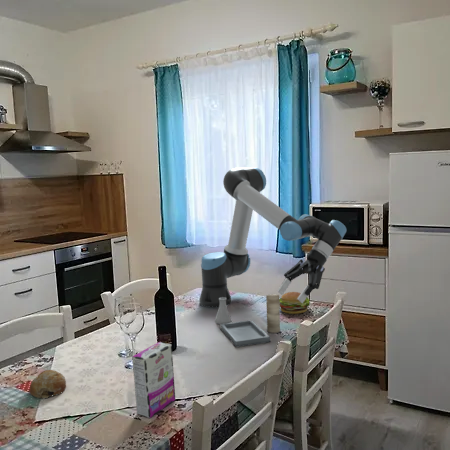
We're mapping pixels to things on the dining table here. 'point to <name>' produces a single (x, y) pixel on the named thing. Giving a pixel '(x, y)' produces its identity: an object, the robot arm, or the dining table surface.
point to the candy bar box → (153, 379)
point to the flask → (223, 313)
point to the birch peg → (273, 313)
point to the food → (293, 303)
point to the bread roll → (48, 384)
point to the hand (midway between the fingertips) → (289, 297)
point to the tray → (245, 333)
